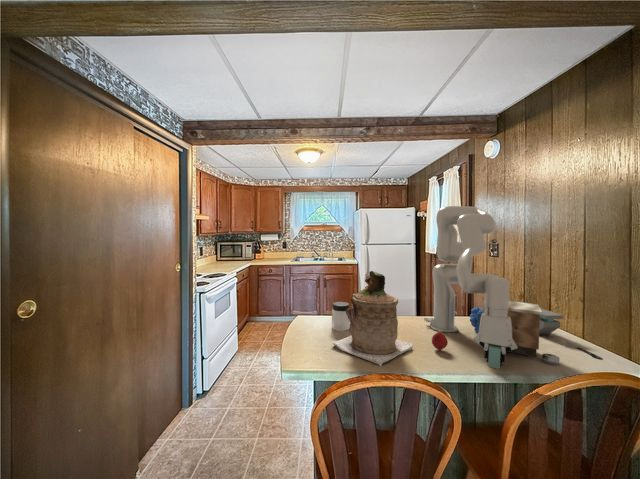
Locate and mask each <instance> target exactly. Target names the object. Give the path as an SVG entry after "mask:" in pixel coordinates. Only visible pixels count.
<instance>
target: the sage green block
mask: <svg viewBox="0 0 640 479" xmlns="http://www.w3.org/2000/svg"><path fill="white" fill-rule="evenodd" d="M488 348H489V359H488V362H487V363H488V364H487V366H488V367H489V368H494V369H498V370H500V369H501V365H500V352H501V346H498V345H492V344H489V347H488Z"/></svg>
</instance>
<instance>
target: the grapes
mask: <svg viewBox="0 0 640 479" xmlns="http://www.w3.org/2000/svg"><path fill="white" fill-rule="evenodd" d="M470 313H471V314H469V322H470V325H471V326H472V327H474V332H475V333H477V334H478V333H479V327H480V319H481V315H482V313H484V312H483V311H482V310H480V306H479V307H478V306H475V307H473V308H471V310H470Z"/></svg>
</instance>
